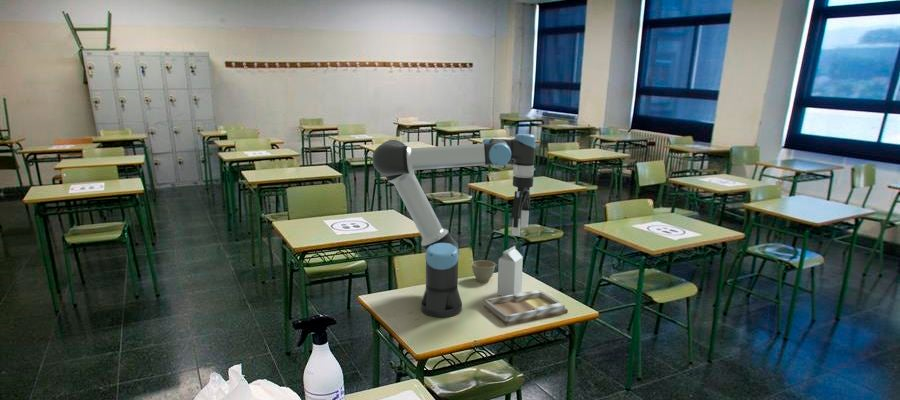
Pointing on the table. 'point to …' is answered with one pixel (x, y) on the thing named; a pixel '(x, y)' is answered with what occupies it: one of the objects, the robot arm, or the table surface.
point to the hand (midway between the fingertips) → (520, 231)
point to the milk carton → (510, 272)
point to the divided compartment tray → (524, 307)
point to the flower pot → (483, 270)
